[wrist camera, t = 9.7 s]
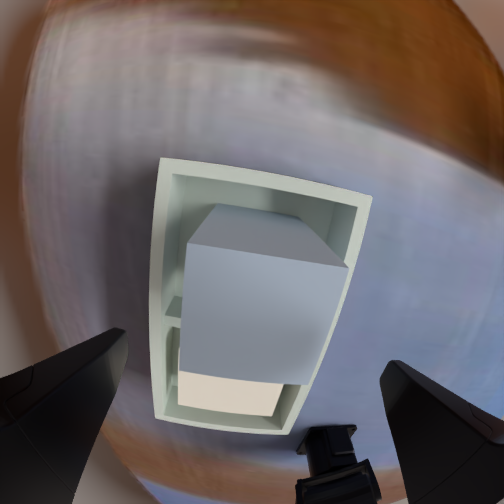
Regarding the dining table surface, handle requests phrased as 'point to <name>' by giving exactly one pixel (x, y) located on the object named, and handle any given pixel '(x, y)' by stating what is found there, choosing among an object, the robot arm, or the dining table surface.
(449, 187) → the dining table surface
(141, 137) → the dining table surface
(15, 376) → the robot arm
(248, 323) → the plain light gray block
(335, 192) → the divided tray
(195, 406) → the beige rectangular block
